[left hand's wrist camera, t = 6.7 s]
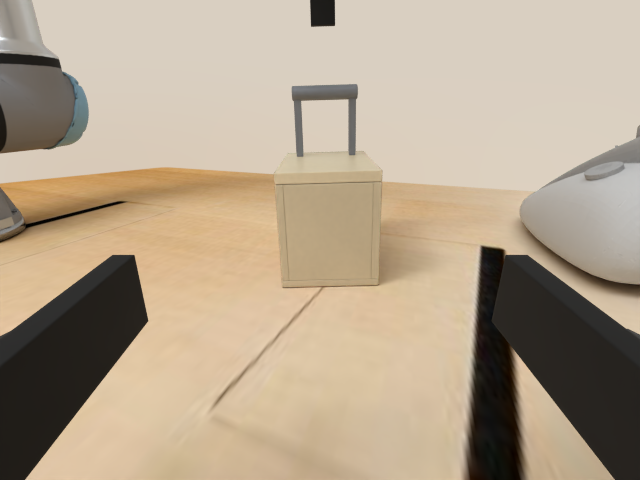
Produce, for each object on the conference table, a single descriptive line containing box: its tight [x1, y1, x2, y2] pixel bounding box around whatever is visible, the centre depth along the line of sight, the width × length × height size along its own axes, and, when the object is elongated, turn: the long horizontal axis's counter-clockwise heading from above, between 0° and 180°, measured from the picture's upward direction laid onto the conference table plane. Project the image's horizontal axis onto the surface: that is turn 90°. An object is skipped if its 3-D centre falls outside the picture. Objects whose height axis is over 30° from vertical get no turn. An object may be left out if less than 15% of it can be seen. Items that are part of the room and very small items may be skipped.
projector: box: [520, 125, 640, 284], centre depth 35 cm, size 22×23×15 cm
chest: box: [275, 182, 382, 287], centre depth 37 cm, size 13×9×10 cm
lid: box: [274, 84, 382, 184], centre depth 34 cm, size 14×9×8 cm, turn 0°
